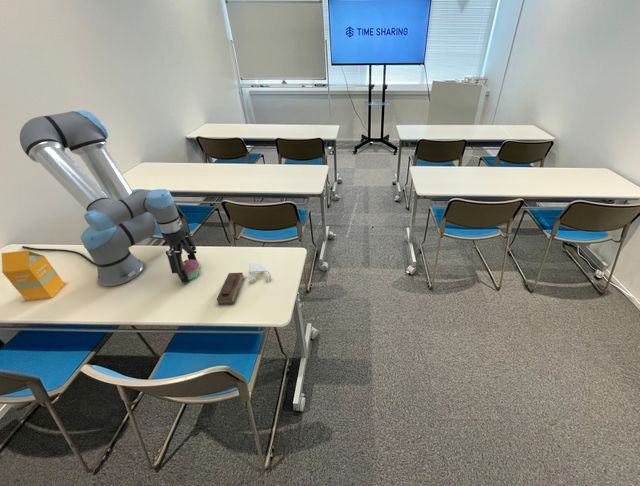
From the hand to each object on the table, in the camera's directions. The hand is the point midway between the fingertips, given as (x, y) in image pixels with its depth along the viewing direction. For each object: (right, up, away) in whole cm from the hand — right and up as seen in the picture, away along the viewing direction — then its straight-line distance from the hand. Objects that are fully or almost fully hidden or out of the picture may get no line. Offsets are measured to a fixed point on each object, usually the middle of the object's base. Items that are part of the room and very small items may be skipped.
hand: (190, 274), depth 122 cm
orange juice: (-54, -6, -6) cm, 54 cm away
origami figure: (+30, -1, -1) cm, 30 cm away
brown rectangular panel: (+20, -5, -7) cm, 22 cm away
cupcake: (0, -1, +1) cm, 1 cm away
